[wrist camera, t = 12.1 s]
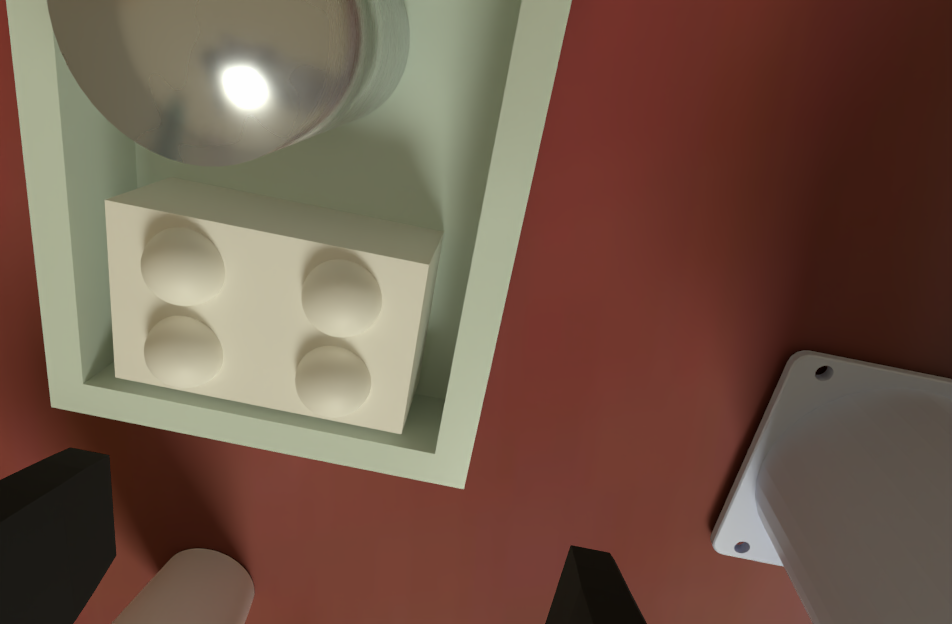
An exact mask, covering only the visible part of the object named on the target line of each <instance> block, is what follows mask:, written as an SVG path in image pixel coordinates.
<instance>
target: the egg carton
mask: <svg viewBox="0 0 952 624" xmlns="http://www.w3.org/2000/svg"><path fill="white" fill-rule="evenodd" d="M105 217H106V233H107V250H108V266H109V283H110V300H111V316H112V333H113V349H114V366H115V377H116V378H121V379H126V380H131V381H136V382H141V383H146V384H151V385H156V386H161V387H166V388H171V389H176V390H181V391H186V392H191V393H196V394H201V395H206V396H211V397H216V398H221V399H226V400H231V401H236V402H241V403H246V404H251V405H256V406H261V407H266V408H271V409H276V410H281V411H286V412H291V413H296V414H301V415H306V416H312V417H317V418H322V419H327V420H332V421H337V422H342V423H347V424H352V425H357V426H362V427H367V428H372V429H377V430H382V431H387V432H392V433H397V434H402V431H403V428H404V425H405V422H406V419H407V416H408V413H409V410H410V407H411V404H412V401H413V398H414V394H415V391H416V388H417V385H418V382H419V378H420V372H421V366H422V360H423V354H424V348H425V342H426V336H427V330H428V324H429V318H430V313H431V307H432V301H433V295H434V289H435V283H436V277H437V271H438V265H439V259H440V253H441V247H442V242H443V236H444V232H443V231H438V230H433V229H428V228H423V227H418V226H413V225H408V224H403V223H398V222H393V221H388V220H383V219H378V218H373V217H368V216H363V215H358V214H353V213H348V212H343V211H338V210H333V209H328V208H323V207H318V206H313V205H308V204H303V203H298V202H293V201H288V200H283V199H278V198H273V197H268V196H263V195H258V194H253V193H248V192H243V191H238V190H233V189H228V188H223V187H218V186H213V185H208V184H203V183H198V182H193V181H188V180H183V179H178V178H173V177H169V178H166V179H164V180H161V181H158V182H155V183H152V184H149V185H146V186H143V187H140V188H137V189H135V190H132V191H129V192H126V193H123V194H120V195H117V196H114V197H111V198H108V199H106V200H105Z"/></svg>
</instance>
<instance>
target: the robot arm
mask: <svg viewBox="0 0 952 624" xmlns="http://www.w3.org/2000/svg"><path fill="white" fill-rule="evenodd" d="M822 366H827V370H826V371H825V372H824V373H822V374H820V375H815V372H816V371H817V369H818V368H820V367H822ZM710 540H711V542H712V545H713V548H714V550H716V551H717V552H718V553H720V554H723V555H729V556H734V557H739V558H744V559H749V560H754V561H759V562H764V563H769V564H774V565H779V566H784V568H785V570H786V572H787V574H788V576H789V578H790V580H791V582H792V584H793V585H794V587H795V589H796V591H797V593H798V595H799V597H800V599H801V601H802V603H803V605H804V607H805V609H806V611H807V613H808V615H809V617H810V619H811V621H812V623H813V624H952V379H950V378H945V377H940V376H935V375H930V374H925V373H920V372H915V371H910V370H905V369H900V368H895V367H890V366H885V365H880V364H875V363H870V362H865V361H860V360H855V359H850V358H845V357H840V356H835V355H830V354H825V353H820V352H815V351H810V350H803V351H799V352H796V353H795V354H794V355H792V356H791V357H790V358H789V360H788V361H787V363H786V366H785V368H784V370H783V372H782V375H781V377H780V379H779V381H778V384H777V386H776V388H775V390H774V393H773V395H772V397H771V400H770V402H769V404H768V406H767V409H766V411H765V413H764V415H763V418H762V420H761V422H760V425H759V427H758V429H757V431H756V434H755V436H754V438H753V440H752V443H751V445H750V447H749V449H748V452H747V454H746V456H745V459H744V461H743V463H742V465H741V468H740V470H739V472H738V474H737V477H736V479H735V481H734V484H733V486H732V488H731V490H730V493H729V495H728V497H727V499H726V502H725V504H724V506H723V508H722V511H721V513H720V515H719V518H718V520H717V522H716V524H715V527H714V529H713V531H712V533H711V537H710ZM739 542H744V543H743V544H740V545H736V544H737V543H739ZM115 556H116V544H115V530H114V515H113V501H112V487H111V472H110V458H109V455H106V454H101V453H96V452H90V451H85V450H80V449H75V448H68V449H66V450H64V451H61V452H59V453H57V454H54V455H52V456H50V457H48V458H46V459H43V460H41V461H39V462H37V463H35V464H33V465H31V466H29V467H26V468H24V469H22V470H20V471H18V472H16V473H14V474H12V475H10V476H8V477H6V478H4V479H2V480H0V624H73V623H74V622H75V620H76V619H77V617H78V616H79V614H80V613H81V611H82V610H83V608H84V606H85V605H86V603H87V602H88V600H89V599H90V597H91V596H92V594H93V593H94V591H95V589H96V588H97V586H98V584H99V583H100V581H101V580H102V578H103V576H104V575H105V573H106V571H107V570H108V568H109V566H110V565H111V563H112V561H113V560H114V558H115ZM545 624H647V623H646V621H645V619H644V617H643V616H642V614H641V612H640V610H639V608H638V606H637V604H636V602H635V600H634V598H633V596H632V594H631V592H630V590H629V588H628V586H627V584H626V582H625V580H624V578H623V576H622V574H621V572H620V570H619V568H618V566H617V564H616V562H615V560H614V559H613V557H612V556H611V554H610V553H608V552H603V551H598V550H592V549H587V548H582V547H577V546H572V545H571V546H570V549H569V552H568V555H567V558H566V562H565V565H564V568H563V571H562V574H561V577H560V580H559V583H558V586H557V589H556V592H555V595H554V599H553V602H552V605H551V608H550V611H549V614H548V617H547V620H546V623H545Z"/></svg>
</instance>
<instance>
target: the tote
mask: <svg viewBox="0 0 952 624" xmlns="http://www.w3.org/2000/svg"><path fill="white" fill-rule="evenodd" d="M403 1H404V4H405V8H406V11H407V15H408V21H409V27H410V48H409V56H408V60H407V65H406V68H405V71H404V74H403V76H402V78H401V80H400V82H399V84H398V86H397V87H396V89H395V90H394V92H393V93H392V95H391V96H390V97H389V98H388V99H387V100H386V102H385V103H383V104H382V105H381V106H380V107H379V108H378V109H376V110H375V111H373V112H372V113H370V114H368V115H366V116H364V117H362V118H360V119H357V120H355V121H352V122H349V123H347V124H344V125H342V126H339V127H336V128H334V129H331V130H329V131H326V132H323V133H321V134H318V135H316V136H313V137H311V138H308V139H305V140H303V141H300V142H298V143H295V144H292V145H290V146H287V147H285V148H282V149H279V150H277V151H274V152H272V153H269V154H267V155H264V156H261V157H259V158H256V159H254V160H251V161H247V162H243V163H240V164H236V165H228V166H220V167H217V166H198V165H191V164H185V163H182V162H178V161H175V160H171V159H168V158H166V157H163V156H161V155H159V154H156V153H154V152H152V151H150V150H148V149H146V148H145V147H143V146H141V145H139V144H137V143H136V142H134V141H133V140H132V139H130V138H129V137H127V136H126V135H125V134H123V133H122V132H120V131H119V130H118V129H117V128H116V127H115V126H114V125H113V124H111V123H110V122H109V121H108V120H107V119H106V118H105V117H104V116H103V115H102V114H101V113H100V112H99V111H98V109H97V108H96V107H95V106H94V105H93V104H92V103H91V101H90V100H89V99H88V97H87V96H86V95H85V93H84V92H83V91H82V89H81V88H80V87H79V85H78V83H77V82H76V80H75V78H74V77H73V75H72V73H71V72H70V70H69V68H68V66H67V64H66V62H65V60H64V57H63V55H62V53H61V51H60V49H59V46H58V43H57V40H56V37H55V34H54V32H53V28H52V24H51V20H50V16H49V12H48V5H47V0H6V5H7V14H8V23H9V32H10V41H11V50H12V59H13V68H14V77H15V86H16V95H17V104H18V113H19V122H20V131H21V140H22V149H23V158H24V167H25V176H26V185H27V194H28V203H29V212H30V221H31V230H32V239H33V248H34V257H35V266H36V275H37V284H38V293H39V302H40V311H41V320H42V329H43V338H44V347H45V356H46V365H47V374H48V383H49V392H50V401H51V407H53V408H58V409H63V410H68V411H73V412H78V413H83V414H88V415H93V416H98V417H103V418H108V419H113V420H118V421H123V422H128V423H134V424H139V425H144V426H149V427H154V428H159V429H164V430H169V431H174V432H179V433H184V434H189V435H194V436H199V437H204V438H209V439H214V440H219V441H224V442H229V443H234V444H239V445H244V446H249V447H254V448H259V449H264V450H269V451H274V452H279V453H284V454H289V455H294V456H299V457H304V458H309V459H314V460H319V461H325V462H330V463H335V464H340V465H345V466H350V467H355V468H360V469H365V470H370V471H375V472H380V473H385V474H390V475H395V476H400V477H405V478H410V479H415V480H420V481H425V482H430V483H435V484H440V485H445V486H450V487H455V488H460V489H464V486H465V481H466V477H467V472H468V468H469V463H470V459H471V454H472V450H473V445H474V441H475V436H476V431H477V427H478V422H479V418H480V413H481V409H482V404H483V400H484V395H485V391H486V386H487V382H488V377H489V373H490V368H491V364H492V359H493V355H494V350H495V346H496V341H497V336H498V332H499V327H500V323H501V318H502V314H503V309H504V305H505V300H506V296H507V291H508V287H509V282H510V278H511V273H512V269H513V264H514V260H515V255H516V250H517V246H518V241H519V237H520V232H521V228H522V223H523V219H524V214H525V210H526V205H527V201H528V196H529V192H530V187H531V183H532V178H533V174H534V169H535V164H536V160H537V155H538V151H539V146H540V142H541V137H542V133H543V128H544V124H545V119H546V115H547V110H548V106H549V101H550V97H551V92H552V88H553V83H554V78H555V74H556V69H557V65H558V60H559V56H560V51H561V47H562V42H563V38H564V33H565V29H566V24H567V20H568V15H569V11H570V6H571V2H572V0H403ZM169 177H173V178H178V179H183V180H188V181H193V182H198V183H203V184H208V185H213V186H218V187H223V188H228V189H233V190H238V191H243V192H248V193H253V194H258V195H263V196H268V197H273V198H278V199H283V200H288V201H293V202H298V203H303V204H308V205H313V206H318V207H323V208H328V209H333V210H338V211H343V212H348V213H353V214H358V215H363V216H368V217H373V218H378V219H383V220H388V221H393V222H398V223H403V224H408V225H413V226H418V227H423V228H428V229H433V230H438V231H443V232H444V236H443V242H442V247H441V253H440V259H439V265H438V271H437V277H436V283H435V289H434V295H433V301H432V307H431V313H430V318H429V324H428V330H427V336H426V342H425V348H424V354H423V360H422V366H421V372H420V378H419V382H418V385H417V388H416V391H415V394H414V398H413V401H412V404H411V407H410V410H409V413H408V416H407V419H406V422H405V425H404V428H403V431H402V434H397V433H392V432H387V431H382V430H377V429H372V428H367V427H362V426H357V425H352V424H347V423H342V422H337V421H332V420H327V419H322V418H317V417H312V416H306V415H301V414H296V413H291V412H286V411H281V410H276V409H271V408H266V407H261V406H256V405H251V404H246V403H241V402H236V401H231V400H226V399H221V398H216V397H211V396H206V395H201V394H196V393H191V392H186V391H181V390H176V389H171V388H166V387H161V386H156V385H151V384H146V383H141V382H136V381H131V380H126V379H121V378H116V377H115V366H114V349H113V333H112V316H111V300H110V283H109V266H108V250H107V233H106V217H105V200H106V199H108V198H111V197H114V196H117V195H120V194H123V193H126V192H129V191H132V190H135V189H137V188H140V187H143V186H146V185H149V184H152V183H155V182H158V181H161V180H164V179H166V178H169Z"/></svg>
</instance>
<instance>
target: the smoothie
mask: <svg viewBox="0 0 952 624" xmlns="http://www.w3.org/2000/svg"><path fill="white" fill-rule="evenodd" d="M253 598H254V585H253V581H252V579H251V577H250V575H249V574H248V572H247V571H246V570H245V569H244V568H243V567H242V566H241V565H240V564H239V563H238V562H237V561H235V560H234V559H232V558H231V557H229V556H227V555H225V554H223V553H220V552H217V551H214V550H210V549H201V548H195V549H188V550H184V551H181V552H179V553H177V554H176V555H174V556H173V557H172V558H171V559H170V560H169V561H168V562H167V563H166V564H165V565H164V566H163V567H162V569H161V570H160V571H159V572H158V573H157V574H156V575H155V576H154V577H153V578H152V579H151V581H150V582H149V583H148V584H147V585H146V586H145V587H144V588H143V589H142V590H141V591H140V593H139V594H138V595H137V596H136V597H135V598H134V599H133V600H132V601H131V602H130V603H129V605H128V606H127V607H126V608H125V609H124V610H123V611H122V612H121V613H120V614H119V615H118V617H117V618H116V619H115V620H114V621H113V622H112V623H111V624H245V621H246V618H247V615H248V612H249V609H250V606H251V604H252V601H253Z"/></svg>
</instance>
